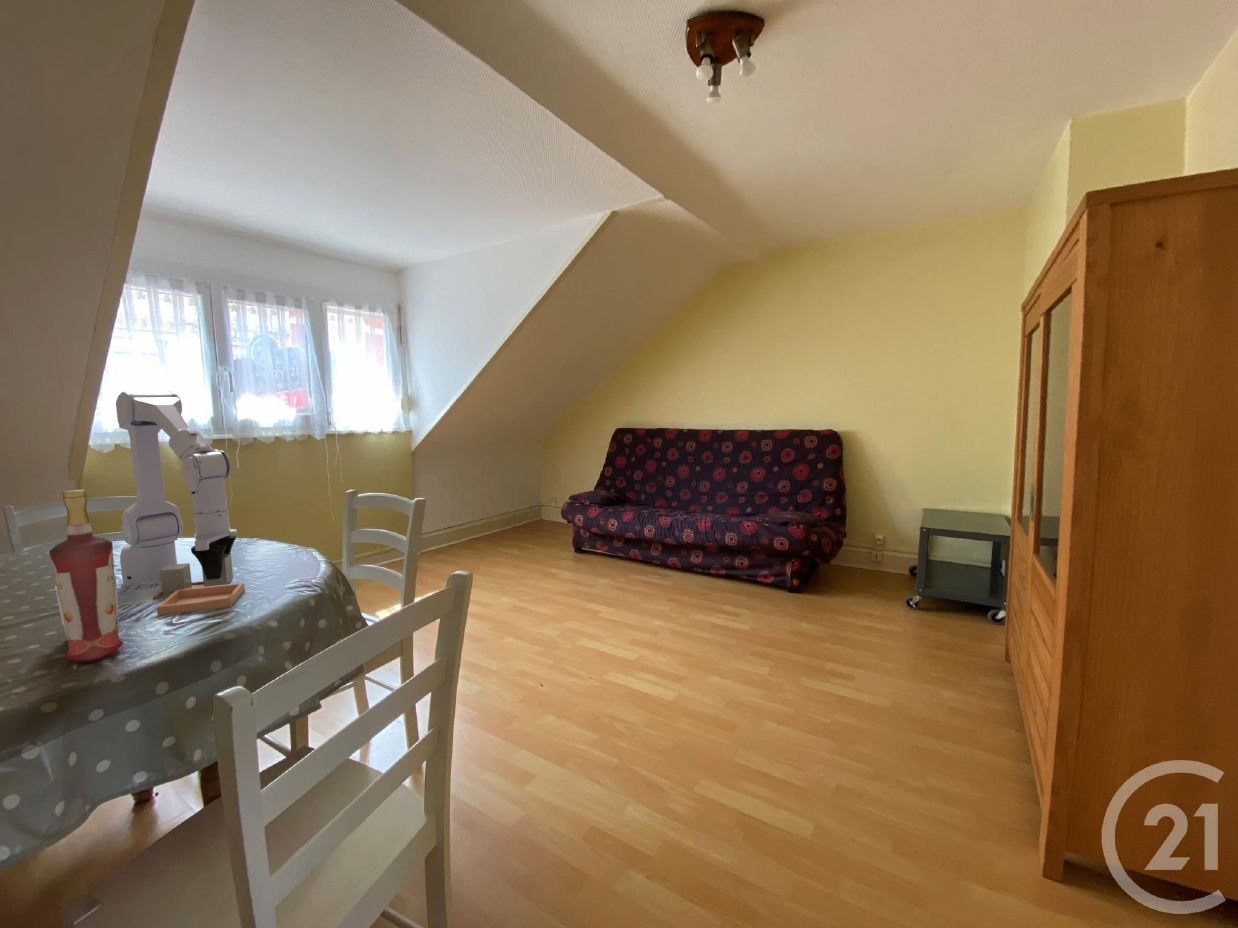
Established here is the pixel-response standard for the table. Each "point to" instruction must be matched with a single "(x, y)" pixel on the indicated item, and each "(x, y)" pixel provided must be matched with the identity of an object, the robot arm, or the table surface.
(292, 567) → the table surface
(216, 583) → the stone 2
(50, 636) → the table surface
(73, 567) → the liquor
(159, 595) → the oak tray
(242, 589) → the terracotta dish
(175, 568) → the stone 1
